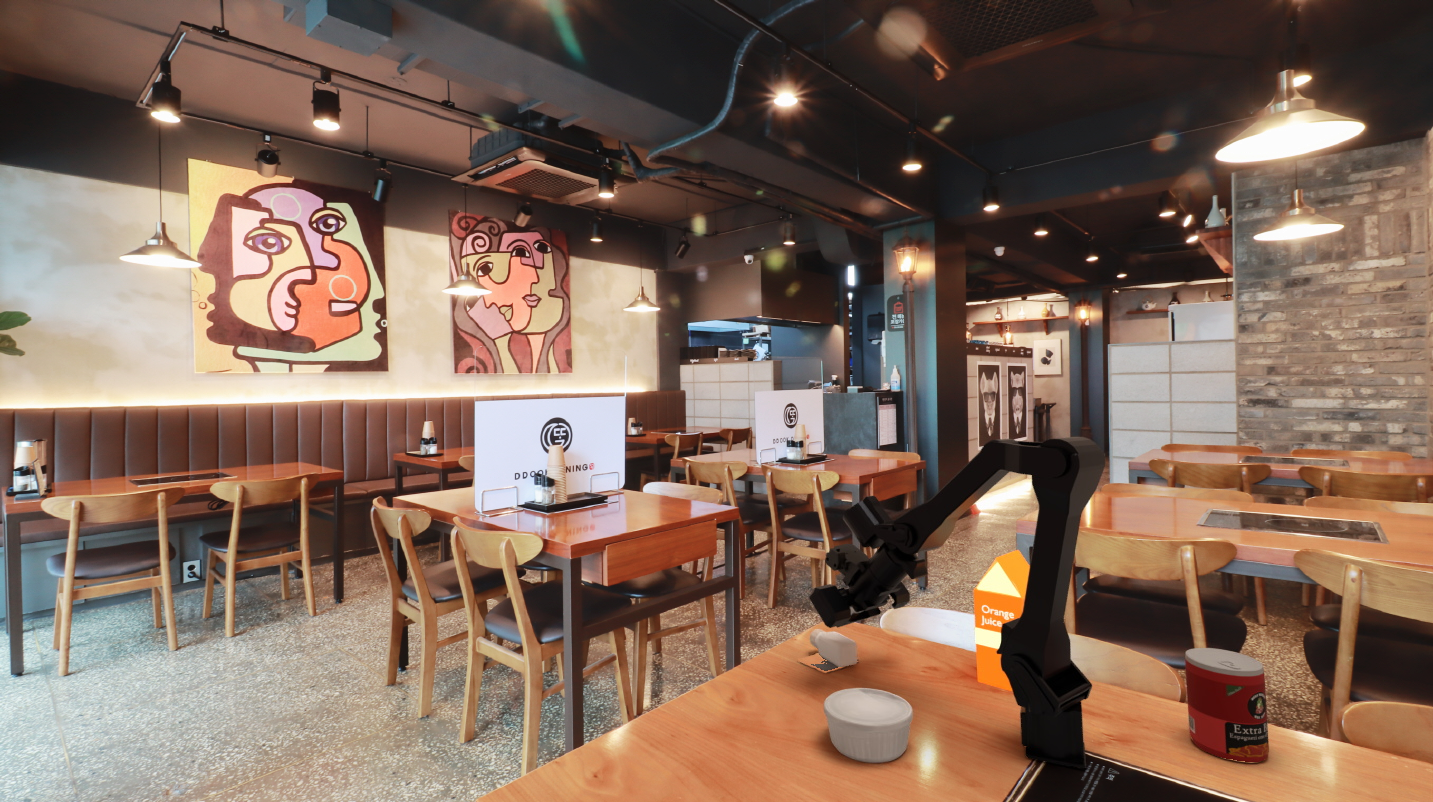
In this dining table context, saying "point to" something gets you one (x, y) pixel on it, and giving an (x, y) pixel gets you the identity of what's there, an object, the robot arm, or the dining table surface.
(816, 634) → the pepper shaker
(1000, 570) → the orange juice
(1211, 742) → the canned food
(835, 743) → the ramekin
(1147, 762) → the dining table surface
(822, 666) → the coaster
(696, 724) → the dining table surface
